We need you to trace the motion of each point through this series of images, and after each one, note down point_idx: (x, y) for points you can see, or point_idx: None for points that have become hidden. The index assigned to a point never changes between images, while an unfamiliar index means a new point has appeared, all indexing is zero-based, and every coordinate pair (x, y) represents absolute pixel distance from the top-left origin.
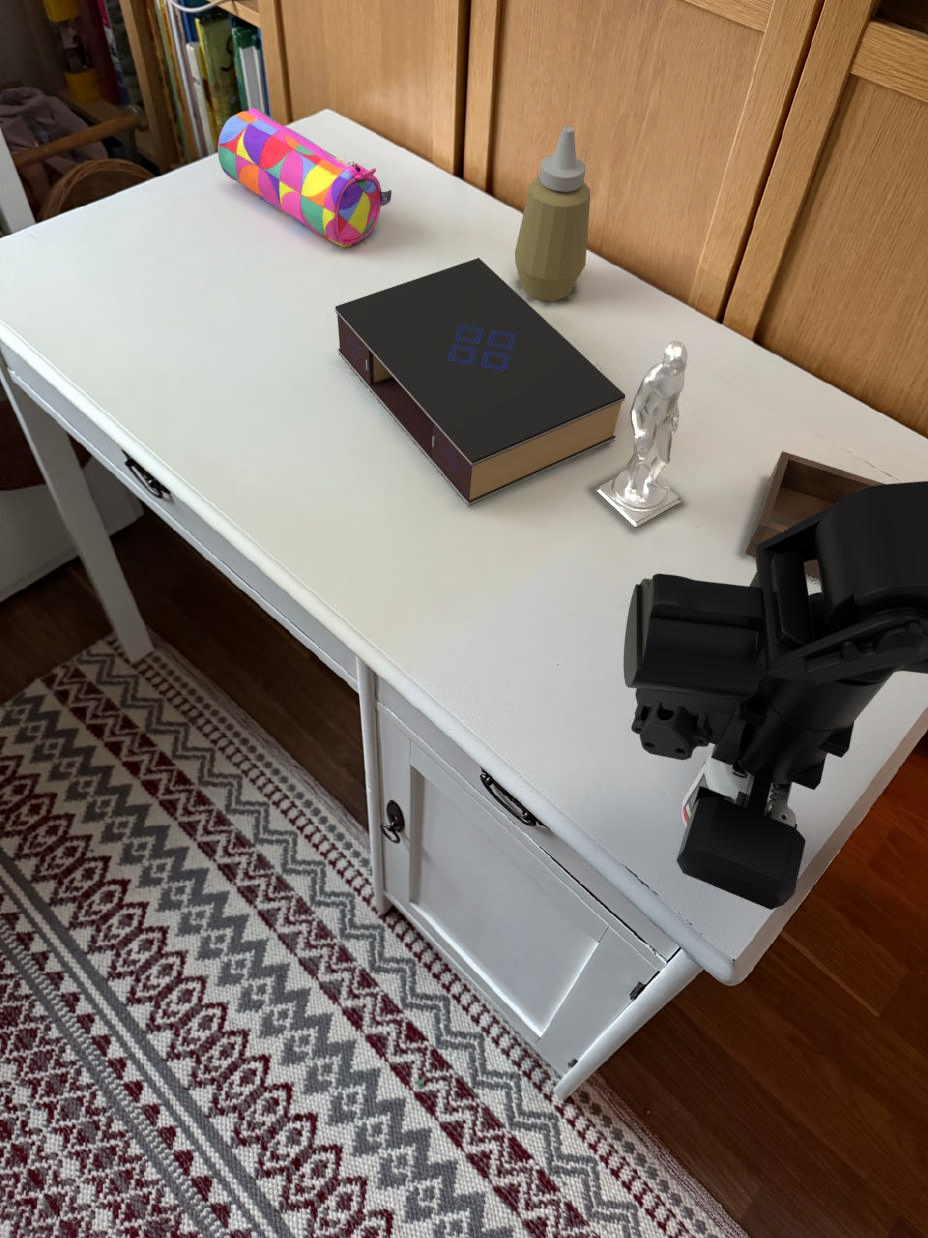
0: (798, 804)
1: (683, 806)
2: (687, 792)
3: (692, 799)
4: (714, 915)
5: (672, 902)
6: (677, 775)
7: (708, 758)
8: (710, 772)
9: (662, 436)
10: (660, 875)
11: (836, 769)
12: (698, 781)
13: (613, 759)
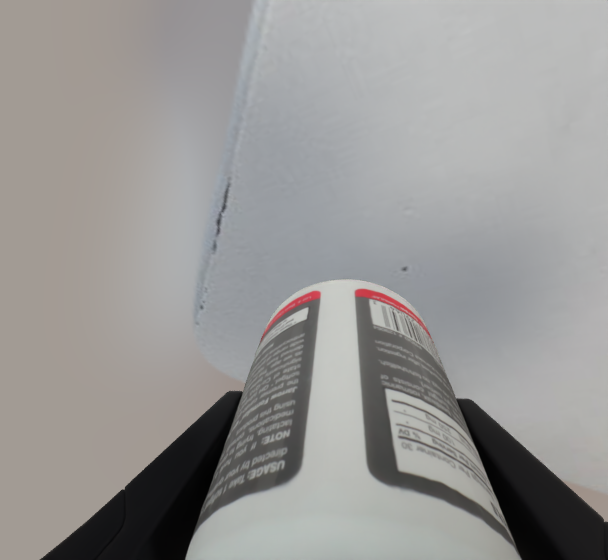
0: None
1: (321, 291)
2: (356, 296)
3: (296, 345)
4: (232, 333)
5: (216, 276)
6: (457, 219)
7: (357, 522)
8: (270, 550)
9: None
10: (247, 246)
11: (546, 440)
12: (312, 396)
13: (453, 67)
